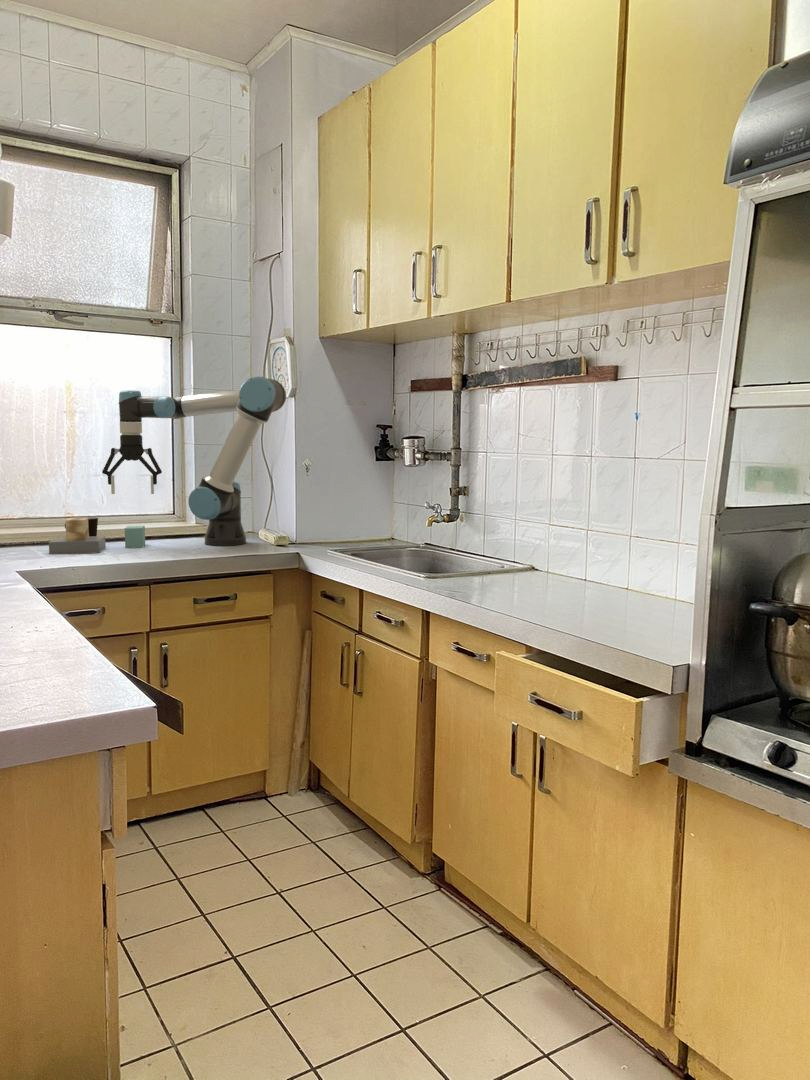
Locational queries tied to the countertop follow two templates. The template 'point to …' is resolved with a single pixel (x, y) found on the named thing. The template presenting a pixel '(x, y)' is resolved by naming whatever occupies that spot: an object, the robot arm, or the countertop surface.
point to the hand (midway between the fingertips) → (133, 493)
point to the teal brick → (134, 536)
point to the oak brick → (77, 529)
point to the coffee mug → (91, 525)
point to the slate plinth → (77, 545)
